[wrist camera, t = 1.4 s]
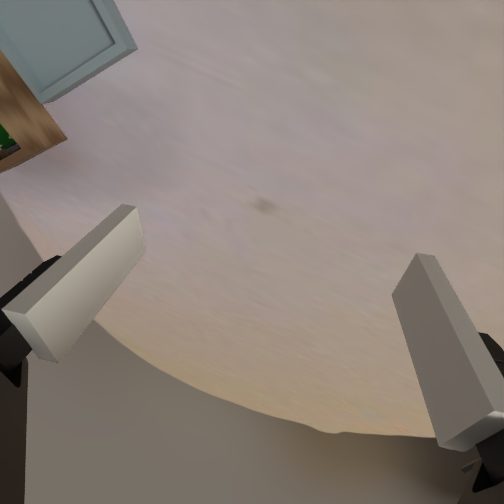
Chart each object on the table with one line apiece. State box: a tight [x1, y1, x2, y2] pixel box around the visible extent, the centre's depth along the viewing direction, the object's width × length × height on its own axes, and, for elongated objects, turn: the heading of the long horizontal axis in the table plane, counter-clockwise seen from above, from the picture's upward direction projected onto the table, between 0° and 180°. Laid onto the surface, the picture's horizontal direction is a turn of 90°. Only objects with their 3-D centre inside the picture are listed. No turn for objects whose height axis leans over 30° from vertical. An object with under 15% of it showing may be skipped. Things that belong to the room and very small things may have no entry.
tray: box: [0, 0, 138, 104], centre depth 32 cm, size 16×16×2 cm
